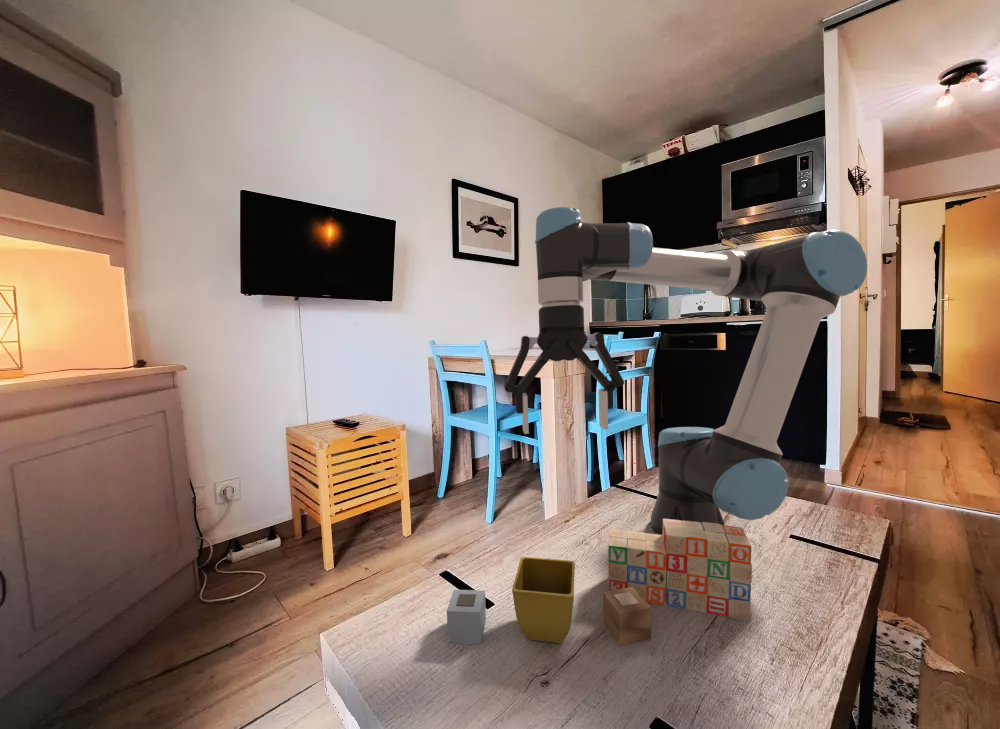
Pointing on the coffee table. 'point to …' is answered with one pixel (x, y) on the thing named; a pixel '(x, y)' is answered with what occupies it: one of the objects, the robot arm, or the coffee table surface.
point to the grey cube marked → (466, 617)
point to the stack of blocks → (685, 566)
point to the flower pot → (544, 598)
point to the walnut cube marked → (627, 616)
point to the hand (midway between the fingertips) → (564, 429)
